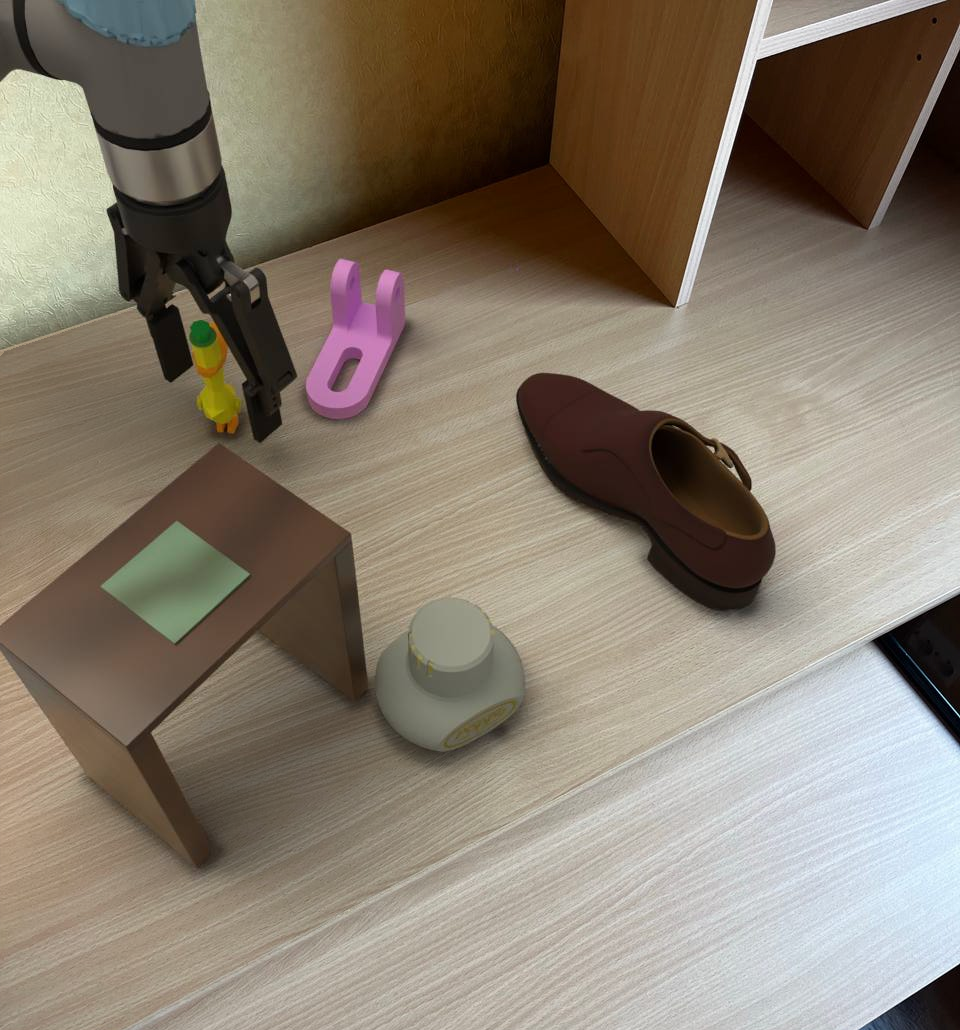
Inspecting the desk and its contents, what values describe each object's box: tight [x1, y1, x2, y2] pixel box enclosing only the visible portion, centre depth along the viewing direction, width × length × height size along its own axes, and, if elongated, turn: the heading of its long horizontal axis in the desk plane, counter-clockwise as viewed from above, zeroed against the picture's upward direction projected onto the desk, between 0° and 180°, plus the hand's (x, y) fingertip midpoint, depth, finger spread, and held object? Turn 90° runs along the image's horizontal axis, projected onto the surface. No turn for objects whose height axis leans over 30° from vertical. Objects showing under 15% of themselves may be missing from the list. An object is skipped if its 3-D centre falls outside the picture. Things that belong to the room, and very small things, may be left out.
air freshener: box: [374, 597, 526, 753], centre depth 78 cm, size 11×8×10 cm
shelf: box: [0, 442, 370, 869], centre depth 72 cm, size 11×18×20 cm, turn 142°
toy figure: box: [188, 319, 243, 434], centre depth 90 cm, size 7×4×12 cm, turn 177°
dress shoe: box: [515, 372, 777, 611], centre depth 87 cm, size 9×28×12 cm, turn 38°
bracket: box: [305, 258, 406, 420], centre depth 96 cm, size 13×6×7 cm, turn 163°
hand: (223, 401), depth 93 cm, fingers open, 10 cm apart
